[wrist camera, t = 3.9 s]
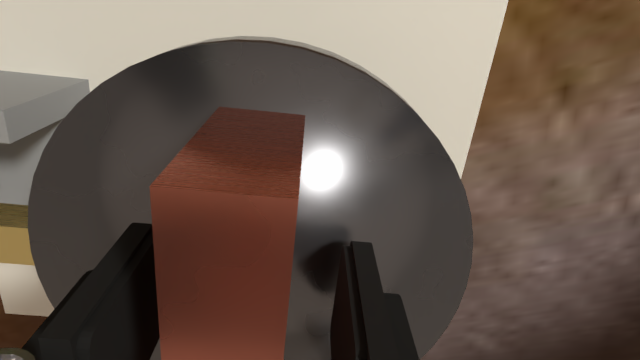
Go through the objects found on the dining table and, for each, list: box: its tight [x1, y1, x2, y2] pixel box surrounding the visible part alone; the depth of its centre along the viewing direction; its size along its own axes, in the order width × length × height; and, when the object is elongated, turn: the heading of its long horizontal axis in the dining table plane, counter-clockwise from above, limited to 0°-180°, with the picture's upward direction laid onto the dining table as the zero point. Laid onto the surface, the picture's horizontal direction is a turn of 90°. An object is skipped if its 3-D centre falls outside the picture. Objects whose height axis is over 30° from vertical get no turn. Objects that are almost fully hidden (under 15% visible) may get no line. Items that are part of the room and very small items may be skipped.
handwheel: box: [0, 36, 473, 360], centre depth 11 cm, size 17×12×9 cm
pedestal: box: [0, 0, 508, 316], centre depth 16 cm, size 22×18×6 cm
